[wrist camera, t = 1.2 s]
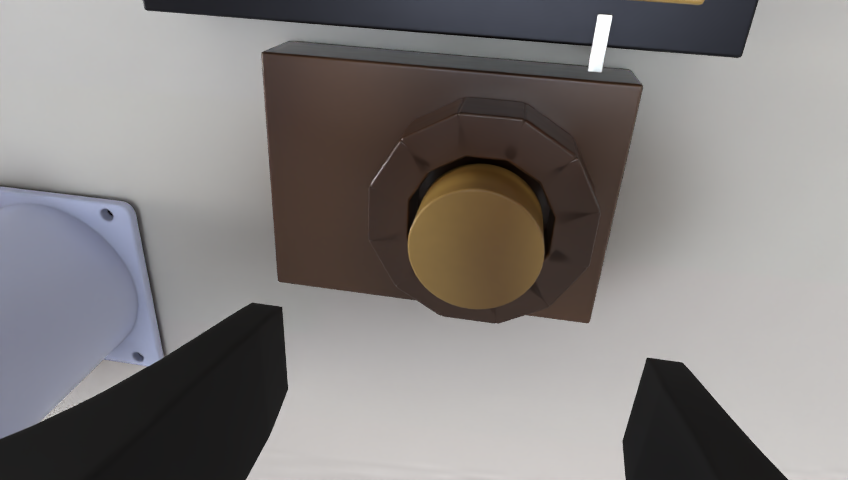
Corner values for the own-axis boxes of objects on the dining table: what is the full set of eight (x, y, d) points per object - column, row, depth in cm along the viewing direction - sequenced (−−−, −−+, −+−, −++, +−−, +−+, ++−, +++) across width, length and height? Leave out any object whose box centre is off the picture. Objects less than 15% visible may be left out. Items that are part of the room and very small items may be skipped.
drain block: (298, 253, 23) (256, 310, 19) (287, 40, 19) (232, 62, 16) (584, 290, 21) (595, 358, 18) (631, 69, 18) (657, 100, 14)
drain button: (416, 266, 18) (404, 301, 16) (422, 156, 16) (410, 181, 15) (533, 281, 18) (533, 318, 16) (551, 170, 16) (555, 197, 14)
